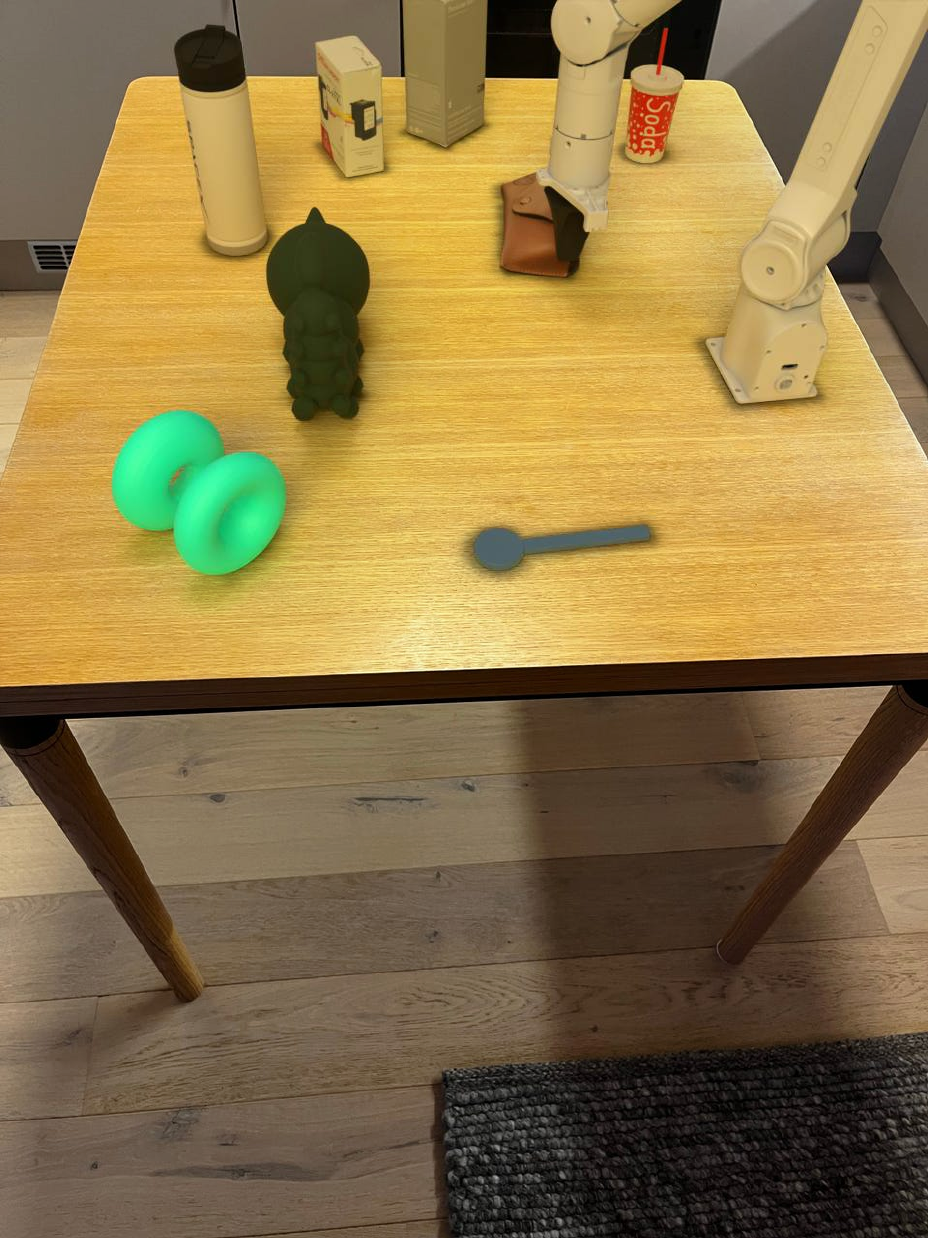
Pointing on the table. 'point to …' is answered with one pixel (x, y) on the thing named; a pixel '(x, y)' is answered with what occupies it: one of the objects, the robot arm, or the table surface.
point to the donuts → (199, 491)
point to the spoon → (545, 544)
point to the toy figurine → (320, 314)
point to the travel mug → (222, 139)
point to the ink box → (350, 105)
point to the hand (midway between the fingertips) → (567, 258)
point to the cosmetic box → (444, 67)
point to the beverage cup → (651, 108)
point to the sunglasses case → (530, 231)
